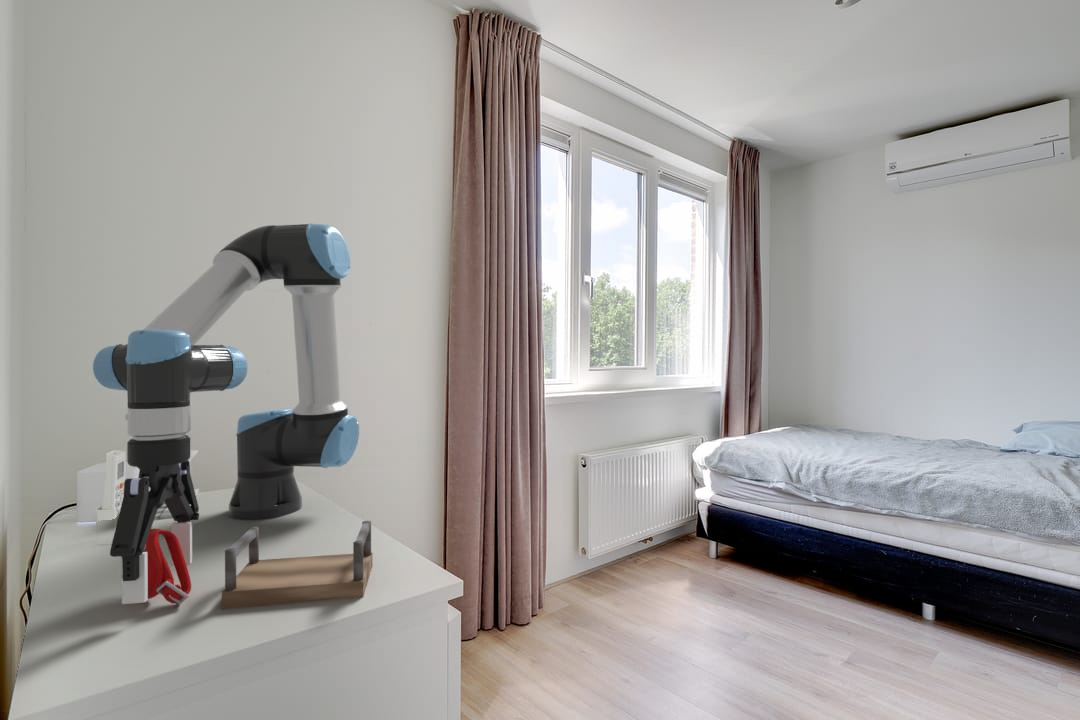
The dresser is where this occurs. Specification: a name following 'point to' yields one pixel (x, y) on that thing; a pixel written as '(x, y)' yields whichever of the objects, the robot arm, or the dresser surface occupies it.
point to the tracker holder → (166, 568)
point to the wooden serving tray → (295, 574)
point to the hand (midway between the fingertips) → (160, 581)
